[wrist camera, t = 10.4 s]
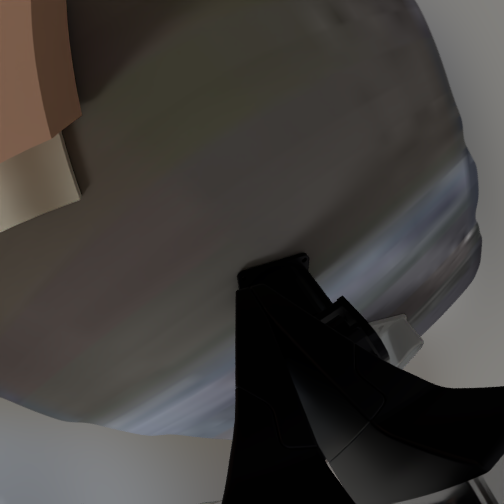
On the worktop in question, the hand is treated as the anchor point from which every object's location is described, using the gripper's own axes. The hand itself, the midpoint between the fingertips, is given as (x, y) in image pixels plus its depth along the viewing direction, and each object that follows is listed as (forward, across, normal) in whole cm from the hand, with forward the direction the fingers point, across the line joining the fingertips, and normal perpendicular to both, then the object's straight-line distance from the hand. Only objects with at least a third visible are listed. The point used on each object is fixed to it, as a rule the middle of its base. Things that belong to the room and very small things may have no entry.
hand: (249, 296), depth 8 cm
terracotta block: (+8, +6, -9) cm, 13 cm away
